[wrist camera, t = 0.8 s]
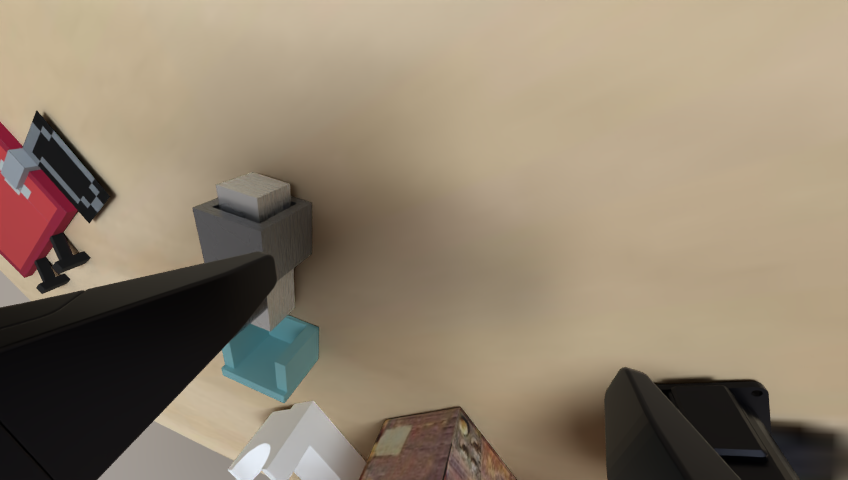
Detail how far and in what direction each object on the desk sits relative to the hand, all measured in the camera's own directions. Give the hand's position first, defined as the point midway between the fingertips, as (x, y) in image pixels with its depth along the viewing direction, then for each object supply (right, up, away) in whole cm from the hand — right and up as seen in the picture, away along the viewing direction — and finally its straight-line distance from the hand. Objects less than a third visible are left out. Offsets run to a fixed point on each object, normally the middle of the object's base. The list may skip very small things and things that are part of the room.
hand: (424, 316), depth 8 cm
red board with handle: (-43, +6, +28) cm, 51 cm away
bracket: (-12, -22, +31) cm, 40 cm away
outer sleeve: (-11, +3, +17) cm, 20 cm away
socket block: (-13, -7, +23) cm, 27 cm away
